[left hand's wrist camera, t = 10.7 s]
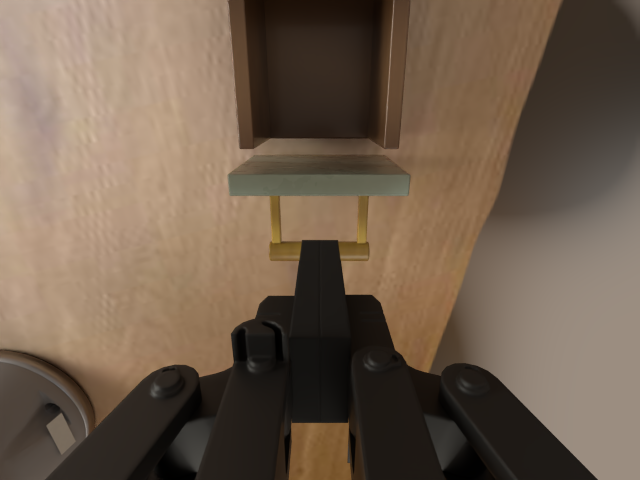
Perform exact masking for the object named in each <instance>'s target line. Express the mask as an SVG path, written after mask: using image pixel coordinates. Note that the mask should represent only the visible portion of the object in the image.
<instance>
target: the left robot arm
mask: <svg viewBox="0 0 640 480" xmlns="http://www.w3.org/2000/svg"><path fill="white" fill-rule="evenodd" d="M231 339H232V348H233V357H234V364H233V366H232V367H231V368H229V369H227V370H225V371H222V372H219V373H216V374H212V375H208V376H203V377H199V374H198V373H197V372H196V370H195V369H194V368H192V367H189V366H187V365H172V366H167V367H163V368H161V369H159V370H157V371H154V372H152V373H151V374H150V375H148V376H147V377H146V378H145V379H143V380H142V381H141V382H140V383H139V384H138V385H137V386H136V387H135V388H134V389H133V390H132V391H131V392H130V393H129V394H128V395H127V397H126V398H125V399H124V400H123V401H122V402H121V403H120V404H119V405H118V406H117V407H116V408H115V409H114V410H113V411H112V412H111V413H110V414H109V415H108V416H107V417H106V418H105V419H104V420H103V421H102V422H101V423H100V424H99V425H98V426H97V427H96V428H95V429H94V427H95V418H94V412H93V409H92V406H91V404H90V402H89V400H88V398H87V396H86V395H85V394H84V392H83V391H82V390H81V388H80V387H79V386H78V385H77V384H76V383H75V382H74V381H73V380H72V379H71V378H70V377H68V376H67V375H66V374H65V373H63V372H62V371H60V370H59V369H57V368H56V367H54V366H52V365H50V364H49V363H47V362H44V361H42V360H40V359H38V358H35V357H32V356H29V355H26V354H22V353H18V352H12V351H5V350H0V480H288V479H289V467H290V454H291V442H292V440H291V421H292V423H348V419H349V440H348V463H350V466H351V478H352V480H598V479H597V478H596V477H595V476H594V475H593V474H592V473H591V472H590V471H589V470H588V469H587V468H586V467H585V466H584V465H583V464H582V463H581V462H580V461H579V460H578V459H577V458H576V457H575V456H574V455H573V454H572V453H571V452H570V451H569V450H568V449H567V448H566V447H565V446H564V445H563V444H562V443H561V442H560V441H559V440H558V439H557V438H556V437H555V436H554V435H553V434H552V433H551V432H550V431H549V430H548V429H547V428H546V427H545V426H544V425H543V424H542V423H541V422H540V421H539V420H538V419H537V418H536V417H535V416H534V415H533V414H532V413H531V412H530V411H529V410H528V409H527V408H526V407H525V406H524V405H523V404H522V403H521V402H520V401H519V400H518V399H517V398H516V397H515V396H514V395H513V394H512V393H511V392H510V390H509V389H507V387H506V386H505V385H504V384H503V383H502V382H501V381H500V380H499V379H498V378H496V377H495V376H494V375H493V374H491V373H490V372H489V371H487V370H485V369H483V368H480V367H478V366H475V365H470V364H466V363H458V364H452V365H450V366H447V367H446V368H445V369H444V370H443V372H442V375H441V376H439V375H434V374H430V373H426V372H422V371H419V370H416V369H414V368H412V367H410V366H408V365H407V364H406V361H405V360H404V358H403V356H402V355H401V354H399V353H398V352H397V351H395V348H394V345H393V342H392V339H391V336H390V332H389V329H388V326H387V323H386V319H385V316H384V314H383V310H382V306H381V303H380V302H379V301H378V300H377V299H376V298H375V297H374V296H373V295H345V288H344V281H343V273H342V266H341V259H340V251H339V244H338V240H302V244H301V251H300V259H299V266H298V273H297V281H296V288H295V296H268V297H267V298H266V299H264V300H263V301H262V302H261V303H260V305H259V308H258V311H257V315H256V318H255V319H252V320H249V321H246V322H243V323H242V324H240V325H239V326H237V327H236V328H235V329H234V330H233V332H232V333H231Z"/></svg>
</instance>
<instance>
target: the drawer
mask: <svg viewBox="0 0 640 480" xmlns="http://www.w3.org/2000/svg"><path fill="white" fill-rule="evenodd" d="M227 1H228V13H229V26H230V38H231V51H232V63H233V76H234V88H235V101H236V113H237V126H238V138H239V148H240V149H254V148H256V147H257V146H259V145H260V144H262V143H264V142H265V141H267V140H268V139H270V138H369V139H370V140H372V141H373V142H375V143H376V144H378V145H379V146H381V147H383V148H384V149H398V148H399V139H400V126H401V114H402V101H403V88H404V76H405V63H406V50H407V38H408V25H409V12H410V0H227ZM228 185H229V195H230V196H270V209H271V229H272V242H270V245H269V258H270V261H299V259H300V251H301V244H302V242H281V240H282V239H281V215H280V196H359V200H358V225H357V242H338V244H339V251H340V259H341V261H368V259H369V243H368V242H366V236H367V217H368V197H369V196H408V195H409V186H410V174H409V173H407V172H406V171H405V170H403V169H402V168H401V167H399V166H398V165H397V164H395V163H394V162H392V161H391V160H390V159H388V158H387V157H386V156H384V155H254V156H253V157H251V158H250V159H249V160H247V161H246V162H244V163H243V164H242V165H240V166H239V167H238V168H236V169H235V170H234V171H232V172H231V173H229V174H228Z"/></svg>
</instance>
